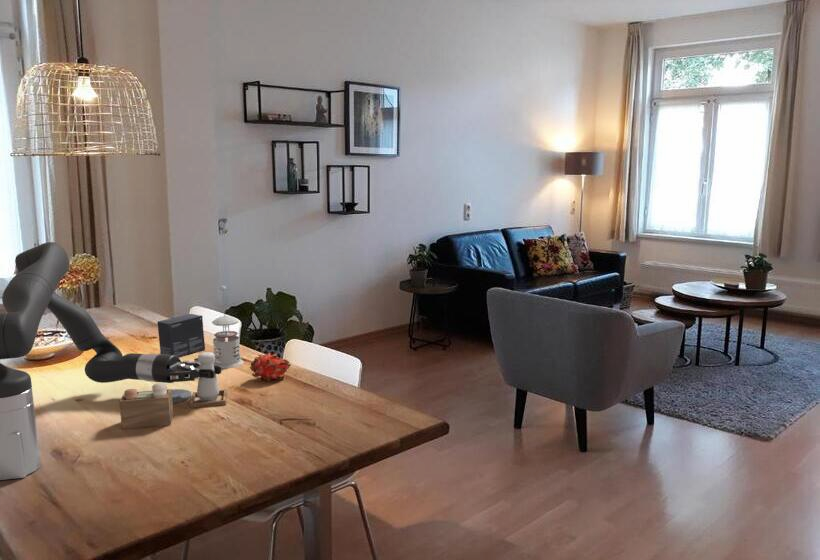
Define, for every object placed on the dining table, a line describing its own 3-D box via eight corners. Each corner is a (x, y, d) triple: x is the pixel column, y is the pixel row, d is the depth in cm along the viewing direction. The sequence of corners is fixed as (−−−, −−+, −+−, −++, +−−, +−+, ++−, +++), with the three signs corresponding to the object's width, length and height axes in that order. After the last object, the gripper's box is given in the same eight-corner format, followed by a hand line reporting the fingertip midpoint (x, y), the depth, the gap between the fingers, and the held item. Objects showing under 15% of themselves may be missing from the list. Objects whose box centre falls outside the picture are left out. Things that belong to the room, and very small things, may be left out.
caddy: (170, 424, 159) (167, 388, 157) (122, 429, 156) (118, 392, 155) (173, 415, 165) (170, 380, 163) (126, 419, 162) (123, 384, 161)
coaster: (189, 402, 173) (189, 400, 173) (149, 406, 171) (149, 403, 171) (192, 389, 183) (192, 387, 183) (154, 393, 181) (154, 390, 181)
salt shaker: (213, 405, 172) (210, 357, 169) (193, 403, 173) (190, 355, 170) (223, 397, 177) (221, 350, 175) (204, 395, 178) (201, 349, 176)
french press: (211, 369, 201) (205, 289, 196) (212, 358, 212) (206, 282, 207) (244, 366, 203) (239, 287, 199) (243, 356, 214) (239, 281, 210)
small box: (193, 346, 226) (190, 312, 224) (205, 349, 222) (203, 315, 220) (159, 356, 215) (156, 320, 213) (172, 359, 211) (169, 323, 209)
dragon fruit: (247, 386, 190) (288, 386, 195) (252, 376, 184) (294, 377, 188) (246, 358, 194) (287, 359, 199) (252, 348, 187) (293, 349, 192)
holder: (225, 404, 172) (225, 401, 172) (189, 407, 170) (189, 404, 170) (227, 393, 180) (227, 389, 180) (193, 395, 178) (192, 392, 178)
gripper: (141, 362, 169) (203, 366, 166) (172, 347, 183) (229, 350, 179) (144, 390, 170) (204, 394, 167) (173, 373, 184) (230, 377, 180)
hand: (217, 371), depth 173 cm, fingers closed on salt shaker, 3 cm apart
